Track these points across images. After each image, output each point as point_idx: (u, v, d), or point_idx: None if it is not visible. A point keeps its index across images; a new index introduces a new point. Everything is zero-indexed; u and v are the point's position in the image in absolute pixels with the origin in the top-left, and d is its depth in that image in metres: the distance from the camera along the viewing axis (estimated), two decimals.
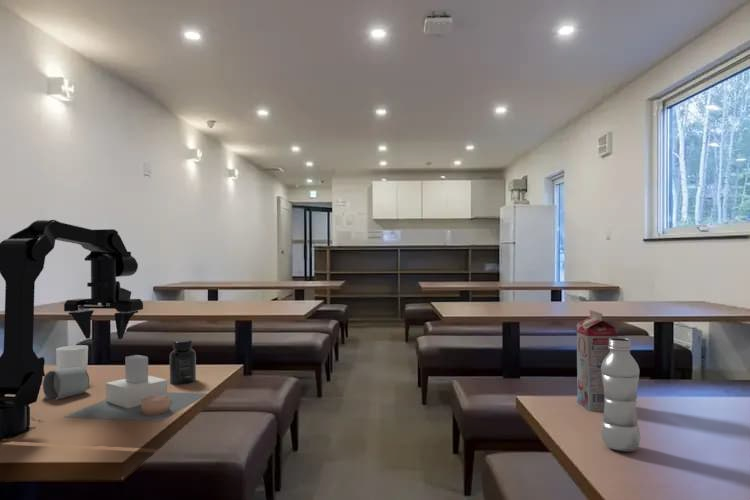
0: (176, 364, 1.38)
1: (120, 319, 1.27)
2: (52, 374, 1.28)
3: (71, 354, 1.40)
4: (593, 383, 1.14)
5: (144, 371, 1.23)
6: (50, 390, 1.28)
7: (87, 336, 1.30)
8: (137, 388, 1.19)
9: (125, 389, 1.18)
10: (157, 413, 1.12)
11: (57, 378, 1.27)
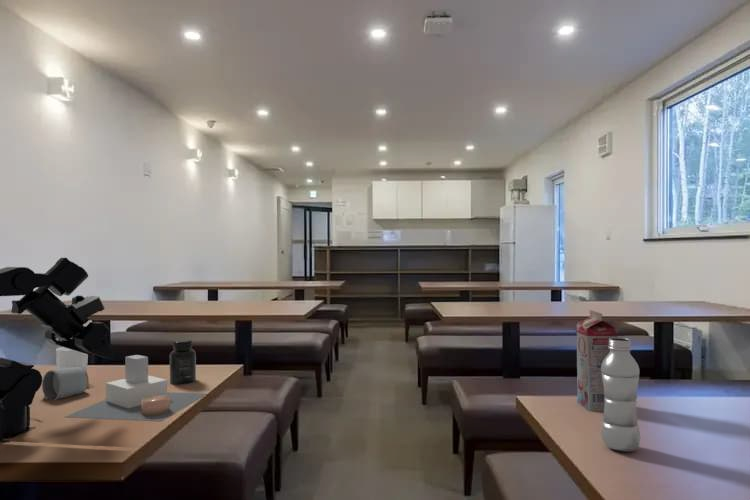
0: (176, 364, 1.38)
1: (92, 353, 1.10)
2: (51, 374, 1.28)
3: (71, 354, 1.40)
4: (593, 383, 1.14)
5: (144, 371, 1.23)
6: (50, 390, 1.29)
7: (90, 353, 1.20)
8: (137, 388, 1.19)
9: (125, 389, 1.18)
10: (157, 413, 1.12)
11: (56, 378, 1.27)
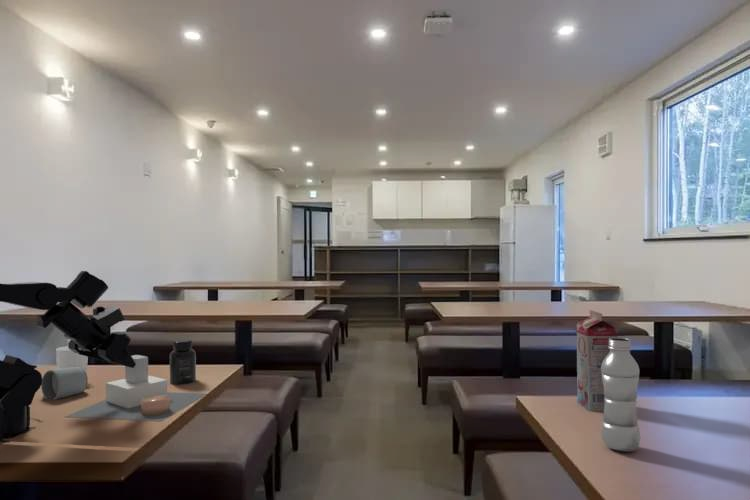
0: (176, 364, 1.38)
1: (114, 362, 1.13)
2: (50, 374, 1.29)
3: (71, 354, 1.40)
4: (593, 383, 1.14)
5: (144, 371, 1.23)
6: (49, 389, 1.29)
7: (111, 361, 1.24)
8: (137, 388, 1.19)
9: (125, 389, 1.18)
10: (157, 413, 1.12)
11: (55, 378, 1.27)
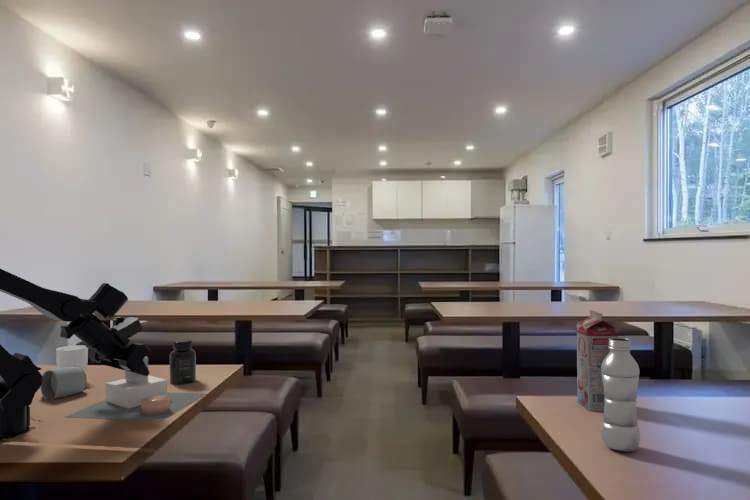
0: (176, 364, 1.38)
1: (130, 371, 1.18)
2: (49, 374, 1.29)
3: (71, 354, 1.40)
4: (593, 382, 1.14)
5: None
6: (48, 389, 1.29)
7: None
8: (137, 388, 1.19)
9: (125, 389, 1.18)
10: (157, 413, 1.12)
11: (54, 378, 1.27)
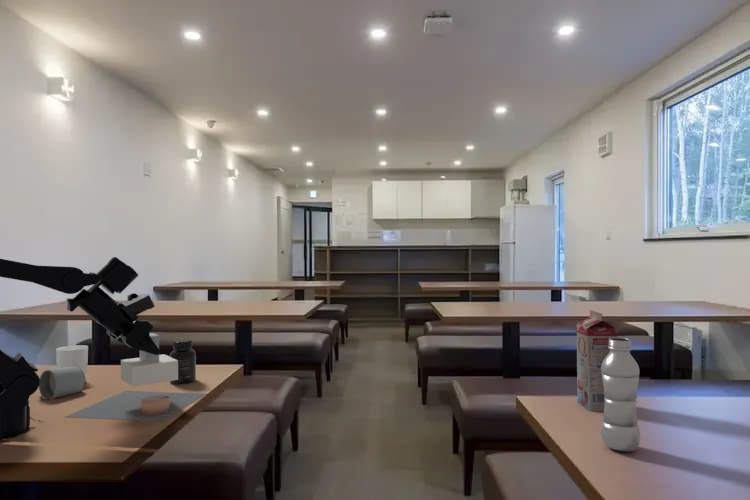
0: None
1: (136, 348, 1.14)
2: (48, 373, 1.29)
3: (71, 354, 1.40)
4: (593, 382, 1.14)
5: None
6: (46, 389, 1.29)
7: None
8: (143, 367, 1.14)
9: (131, 367, 1.13)
10: (157, 413, 1.12)
11: (53, 377, 1.27)
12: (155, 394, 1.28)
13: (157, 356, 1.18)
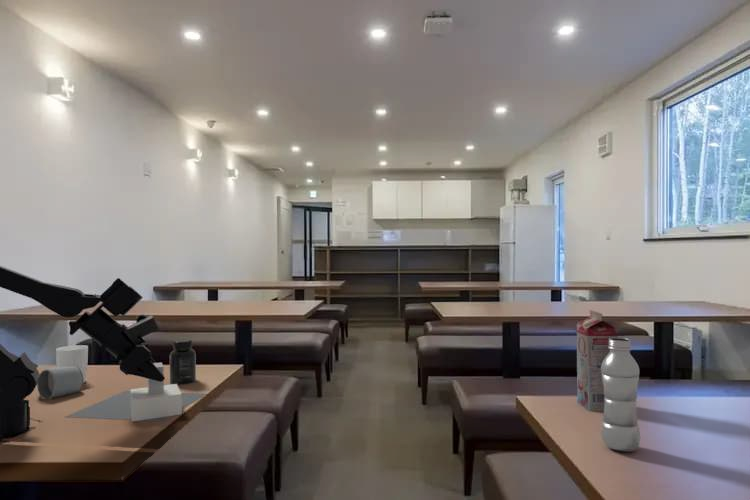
0: (176, 364, 1.38)
1: (136, 375, 1.08)
2: (46, 373, 1.29)
3: (71, 354, 1.40)
4: (593, 382, 1.14)
5: (159, 382, 1.13)
6: (45, 389, 1.30)
7: None
8: (143, 400, 1.09)
9: (131, 400, 1.09)
10: None
11: (51, 377, 1.28)
12: None
13: (161, 388, 1.13)
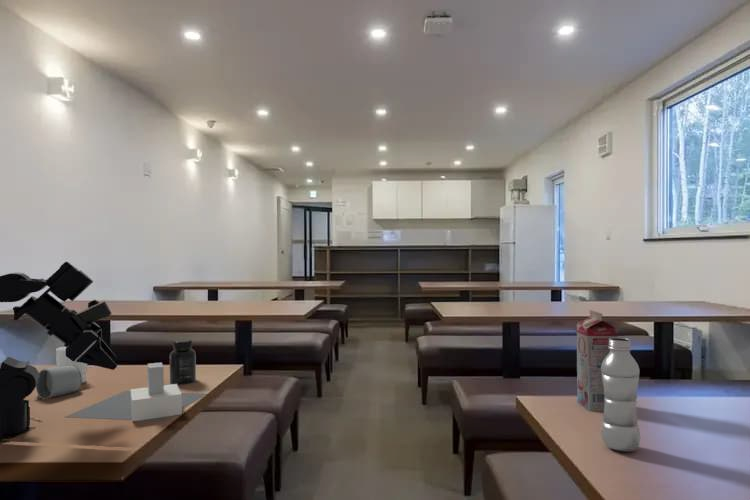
0: (176, 364, 1.38)
1: None
2: (45, 373, 1.30)
3: None
4: (593, 382, 1.14)
5: (159, 382, 1.13)
6: (43, 388, 1.30)
7: (112, 359, 1.15)
8: (143, 400, 1.09)
9: (131, 400, 1.09)
10: None
11: (50, 377, 1.28)
12: None
13: (161, 388, 1.13)
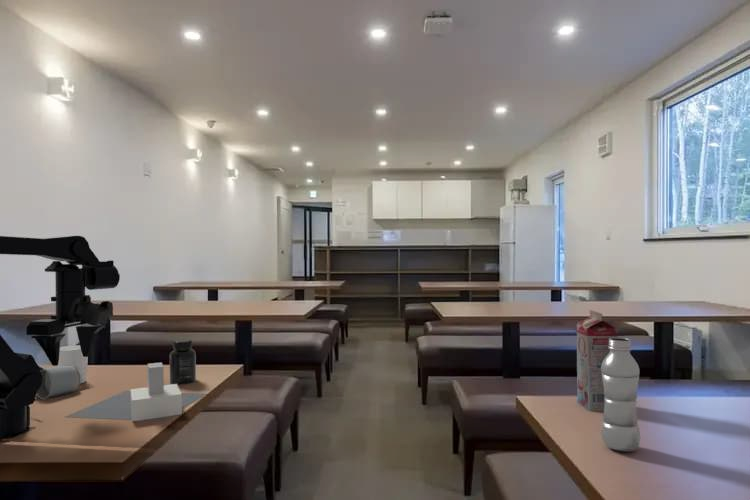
0: (176, 364, 1.38)
1: None
2: (43, 372, 1.30)
3: (71, 354, 1.40)
4: (593, 382, 1.14)
5: (159, 382, 1.13)
6: (42, 388, 1.30)
7: (83, 354, 1.18)
8: (143, 400, 1.09)
9: (131, 400, 1.09)
10: None
11: (48, 376, 1.28)
12: None
13: (161, 388, 1.13)
